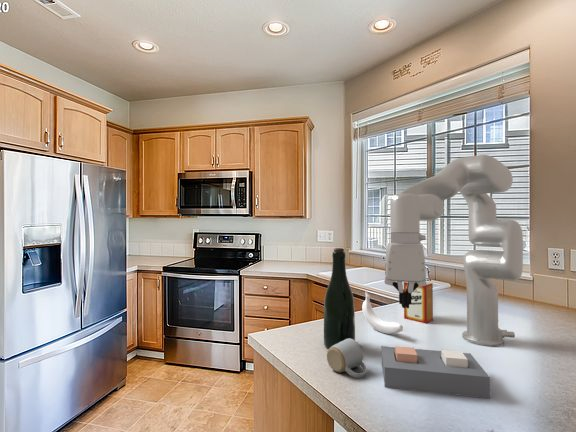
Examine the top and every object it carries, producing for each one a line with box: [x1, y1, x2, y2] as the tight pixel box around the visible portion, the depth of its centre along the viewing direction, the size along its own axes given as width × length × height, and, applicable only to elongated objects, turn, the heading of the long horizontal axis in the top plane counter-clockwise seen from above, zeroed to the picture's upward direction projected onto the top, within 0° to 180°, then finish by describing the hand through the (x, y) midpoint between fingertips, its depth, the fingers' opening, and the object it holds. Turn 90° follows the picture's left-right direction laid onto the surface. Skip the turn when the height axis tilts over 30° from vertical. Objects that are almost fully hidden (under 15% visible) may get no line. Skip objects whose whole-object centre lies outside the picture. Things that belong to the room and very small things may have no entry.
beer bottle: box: [323, 247, 356, 350], centre depth 108 cm, size 10×10×33 cm
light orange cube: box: [394, 345, 417, 363], centre depth 87 cm, size 5×5×5 cm
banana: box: [361, 291, 404, 335], centre depth 121 cm, size 5×19×15 cm, turn 36°
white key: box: [440, 349, 468, 368], centre depth 84 cm, size 5×5×5 cm
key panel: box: [380, 345, 491, 399], centre depth 86 cm, size 24×14×5 cm, turn 77°
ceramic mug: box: [326, 338, 367, 379], centre depth 90 cm, size 11×8×8 cm
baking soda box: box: [403, 281, 434, 325], centre depth 137 cm, size 10×6×16 cm
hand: (405, 306), depth 87 cm, fingers closed
